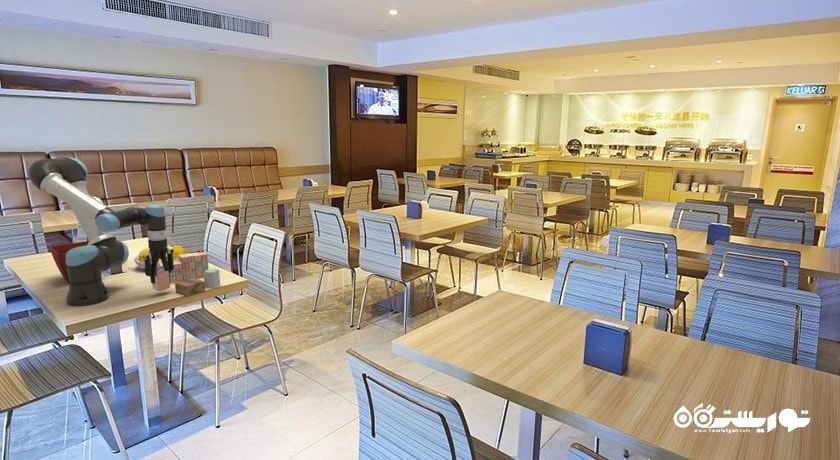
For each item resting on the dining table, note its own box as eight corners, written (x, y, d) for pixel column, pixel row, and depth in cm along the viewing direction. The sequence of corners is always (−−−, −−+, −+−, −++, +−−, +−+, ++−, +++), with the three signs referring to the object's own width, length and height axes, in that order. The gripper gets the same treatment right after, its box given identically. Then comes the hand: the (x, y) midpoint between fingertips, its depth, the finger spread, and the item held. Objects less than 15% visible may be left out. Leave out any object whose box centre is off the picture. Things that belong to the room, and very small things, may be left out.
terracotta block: (160, 291, 212) (158, 274, 210) (152, 289, 214) (151, 272, 212) (170, 288, 216) (168, 271, 214) (162, 286, 218) (161, 269, 216)
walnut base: (187, 296, 213) (186, 286, 212) (175, 293, 218) (174, 282, 217) (205, 291, 221) (204, 281, 220) (193, 287, 225) (192, 277, 224)
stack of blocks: (162, 284, 228) (160, 260, 226) (160, 281, 233) (158, 257, 231) (209, 276, 241) (207, 253, 239) (206, 273, 246) (204, 251, 244)
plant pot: (62, 287, 221) (57, 253, 218) (54, 278, 234) (48, 246, 230) (109, 279, 235) (105, 246, 232) (98, 270, 248) (94, 240, 244)
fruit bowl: (174, 274, 245) (172, 253, 242) (123, 273, 245) (120, 252, 243) (200, 259, 272) (198, 240, 269) (154, 258, 272) (152, 239, 270)
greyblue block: (214, 288, 224) (213, 272, 222) (204, 287, 225) (203, 271, 223) (220, 285, 229) (218, 269, 227) (210, 284, 229) (209, 268, 228)
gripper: (144, 244, 200) (148, 295, 205) (181, 236, 216) (184, 283, 221) (132, 241, 203) (137, 292, 208) (169, 233, 219) (173, 281, 224)
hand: (161, 287), depth 215 cm, fingers closed on terracotta block, 5 cm apart
